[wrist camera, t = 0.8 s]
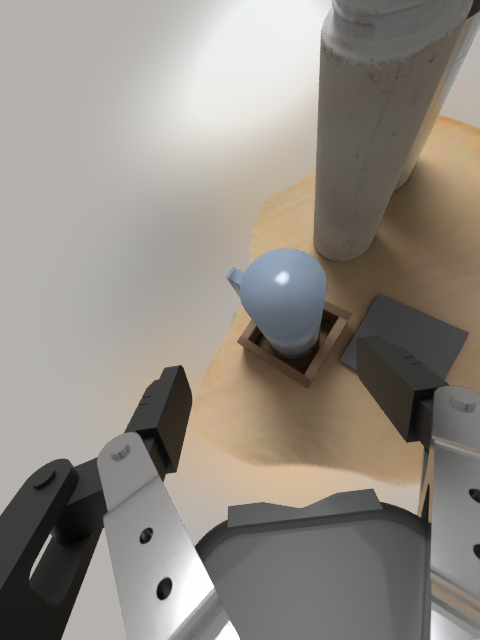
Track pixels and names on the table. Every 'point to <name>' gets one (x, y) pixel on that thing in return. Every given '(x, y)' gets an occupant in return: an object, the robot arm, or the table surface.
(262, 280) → the jug
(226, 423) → the table surface
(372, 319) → the mat
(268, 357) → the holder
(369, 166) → the thermos bottle
